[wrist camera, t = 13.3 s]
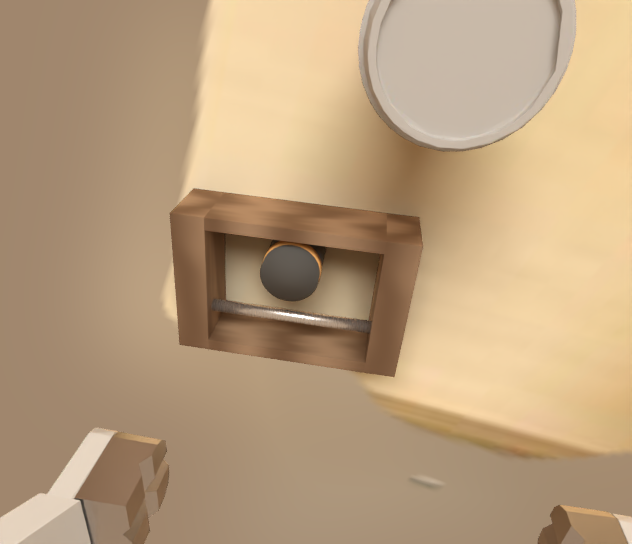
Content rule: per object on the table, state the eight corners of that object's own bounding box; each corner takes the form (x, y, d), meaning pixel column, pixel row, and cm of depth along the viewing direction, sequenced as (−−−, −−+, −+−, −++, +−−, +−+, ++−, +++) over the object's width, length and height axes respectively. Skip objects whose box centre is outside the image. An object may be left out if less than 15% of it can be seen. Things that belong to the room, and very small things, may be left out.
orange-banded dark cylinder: (324, 272, 42) (317, 304, 37) (272, 266, 42) (259, 298, 38) (328, 224, 39) (321, 252, 35) (273, 218, 40) (259, 246, 35)
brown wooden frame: (419, 217, 38) (422, 246, 34) (394, 339, 44) (394, 377, 40) (193, 188, 39) (169, 213, 35) (199, 311, 45) (179, 344, 41)
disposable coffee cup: (466, 130, 34) (499, 190, 24) (343, 69, 34) (322, 106, 23) (552, -15, 30) (640, -16, 19) (412, -90, 29) (424, -133, 18)
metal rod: (383, 320, 40) (383, 327, 39) (381, 330, 40) (381, 337, 39) (203, 294, 41) (199, 301, 40) (203, 304, 41) (199, 311, 40)
